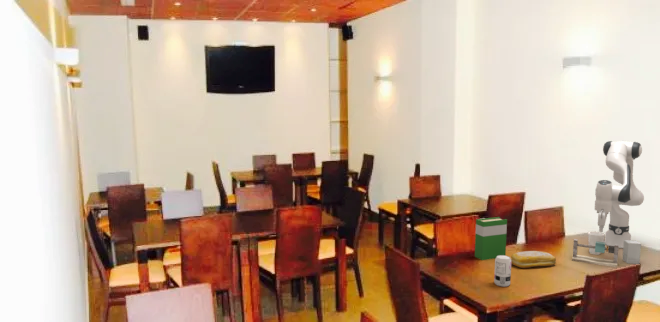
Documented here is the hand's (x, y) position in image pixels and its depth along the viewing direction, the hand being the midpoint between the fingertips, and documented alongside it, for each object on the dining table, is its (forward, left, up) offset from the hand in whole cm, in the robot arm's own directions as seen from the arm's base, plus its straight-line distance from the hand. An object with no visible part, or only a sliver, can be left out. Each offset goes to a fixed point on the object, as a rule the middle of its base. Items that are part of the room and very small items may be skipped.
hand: (601, 230), depth 304 cm
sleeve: (0, 0, -13) cm, 13 cm away
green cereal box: (+23, -60, -20) cm, 67 cm away
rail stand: (0, -3, -20) cm, 20 cm away
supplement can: (+67, -43, -20) cm, 82 cm away
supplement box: (-11, +16, -20) cm, 28 cm away
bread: (+26, -34, -21) cm, 47 cm away
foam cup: (-19, -4, -20) cm, 28 cm away
